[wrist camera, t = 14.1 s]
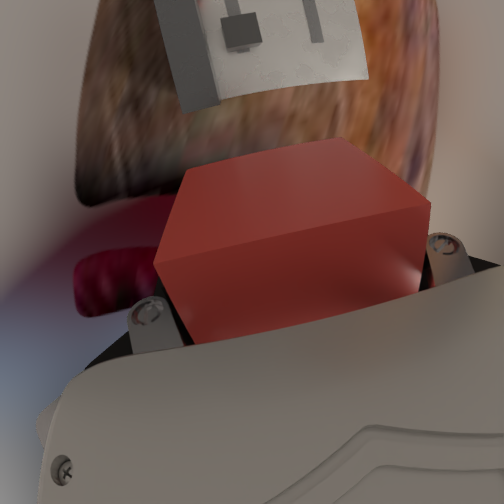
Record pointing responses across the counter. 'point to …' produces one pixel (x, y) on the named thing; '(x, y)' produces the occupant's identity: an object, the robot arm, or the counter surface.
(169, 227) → the matte red cuboid
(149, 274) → the counter surface
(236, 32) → the block
